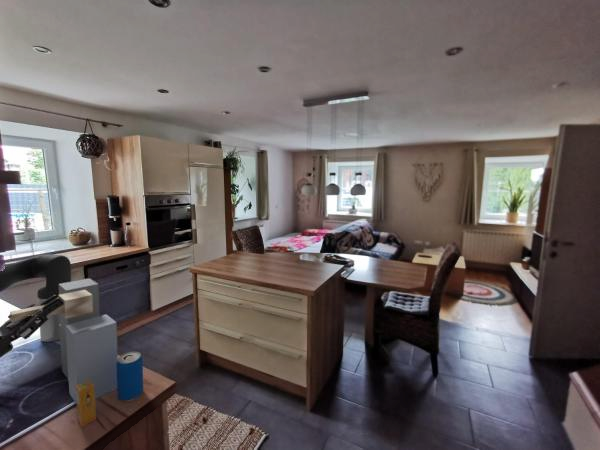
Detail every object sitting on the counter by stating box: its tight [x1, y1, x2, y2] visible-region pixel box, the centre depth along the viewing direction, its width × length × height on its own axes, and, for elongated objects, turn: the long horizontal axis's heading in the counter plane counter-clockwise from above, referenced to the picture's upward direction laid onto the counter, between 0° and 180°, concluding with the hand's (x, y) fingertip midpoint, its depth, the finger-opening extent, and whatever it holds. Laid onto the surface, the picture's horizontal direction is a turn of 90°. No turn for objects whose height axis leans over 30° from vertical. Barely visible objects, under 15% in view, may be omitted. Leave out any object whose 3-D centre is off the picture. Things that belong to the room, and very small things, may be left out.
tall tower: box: [59, 278, 101, 381], centre depth 89 cm, size 12×8×30 cm, turn 53°
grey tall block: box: [65, 314, 119, 405], centre depth 82 cm, size 8×10×21 cm
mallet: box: [9, 290, 93, 323], centre depth 73 cm, size 16×6×5 cm, turn 143°
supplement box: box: [75, 380, 97, 428], centre depth 72 cm, size 3×3×10 cm
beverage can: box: [116, 351, 144, 402], centre depth 81 cm, size 6×6×12 cm
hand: (59, 298), depth 74 cm, fingers closed on mallet, 2 cm apart
